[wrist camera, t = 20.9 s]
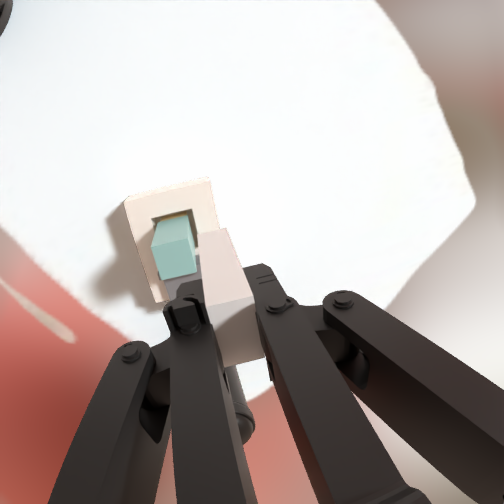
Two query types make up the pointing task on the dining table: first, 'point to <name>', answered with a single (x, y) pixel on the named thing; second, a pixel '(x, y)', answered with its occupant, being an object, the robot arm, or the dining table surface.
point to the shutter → (181, 280)
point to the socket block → (163, 204)
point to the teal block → (174, 246)
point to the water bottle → (240, 405)
